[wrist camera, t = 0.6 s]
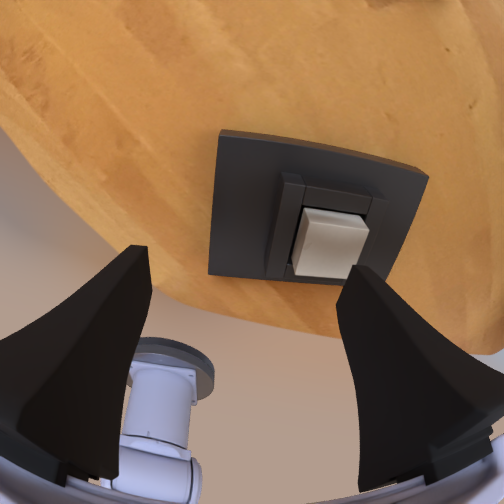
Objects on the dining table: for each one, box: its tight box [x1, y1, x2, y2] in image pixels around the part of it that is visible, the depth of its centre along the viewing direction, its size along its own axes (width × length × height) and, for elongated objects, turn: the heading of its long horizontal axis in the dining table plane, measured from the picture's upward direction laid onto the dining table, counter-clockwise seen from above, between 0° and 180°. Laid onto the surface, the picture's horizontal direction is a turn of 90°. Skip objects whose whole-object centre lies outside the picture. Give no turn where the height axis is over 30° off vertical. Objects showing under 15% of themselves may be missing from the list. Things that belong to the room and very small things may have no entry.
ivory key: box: [291, 207, 369, 279], centre depth 17 cm, size 4×4×2 cm
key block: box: [208, 129, 429, 286], centre depth 18 cm, size 10×14×4 cm
